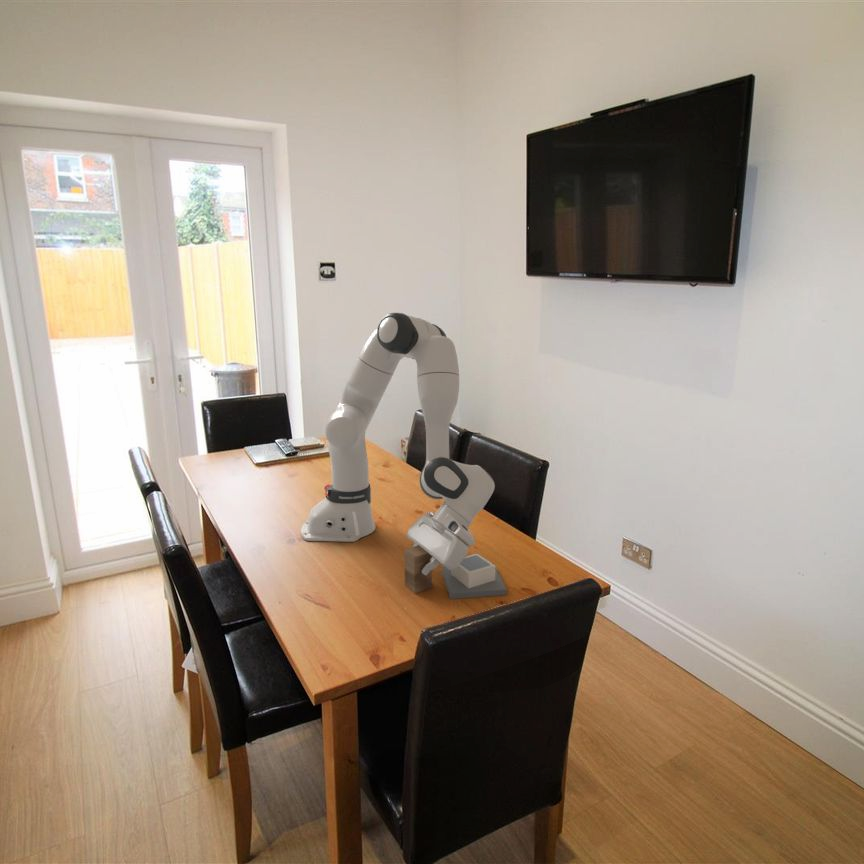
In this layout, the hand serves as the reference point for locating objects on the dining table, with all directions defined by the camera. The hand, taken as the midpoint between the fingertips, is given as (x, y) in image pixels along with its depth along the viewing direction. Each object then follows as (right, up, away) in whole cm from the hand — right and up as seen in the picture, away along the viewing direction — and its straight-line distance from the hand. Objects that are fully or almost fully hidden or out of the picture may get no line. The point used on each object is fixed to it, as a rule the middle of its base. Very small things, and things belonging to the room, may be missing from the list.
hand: (416, 567), depth 153 cm
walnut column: (+1, -5, +2) cm, 5 cm away
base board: (+14, -5, +4) cm, 16 cm away
